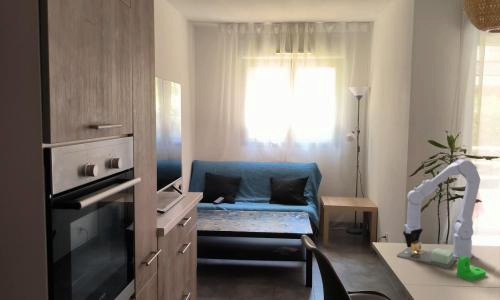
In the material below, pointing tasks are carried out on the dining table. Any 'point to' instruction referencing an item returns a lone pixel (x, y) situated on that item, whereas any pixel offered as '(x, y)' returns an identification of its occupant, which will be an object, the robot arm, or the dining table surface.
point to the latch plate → (423, 257)
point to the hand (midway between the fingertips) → (412, 245)
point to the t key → (416, 246)
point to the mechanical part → (468, 270)
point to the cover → (441, 255)
